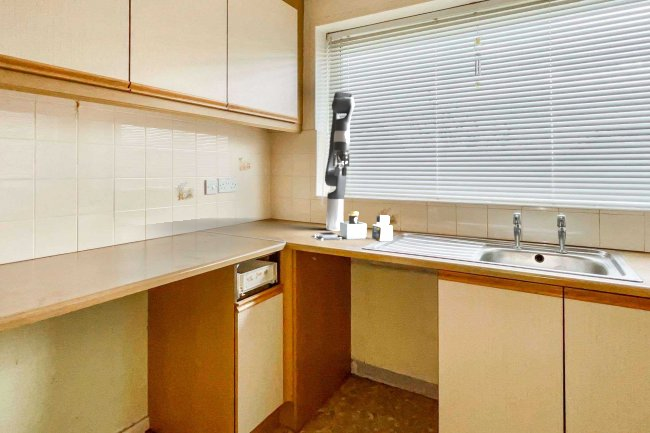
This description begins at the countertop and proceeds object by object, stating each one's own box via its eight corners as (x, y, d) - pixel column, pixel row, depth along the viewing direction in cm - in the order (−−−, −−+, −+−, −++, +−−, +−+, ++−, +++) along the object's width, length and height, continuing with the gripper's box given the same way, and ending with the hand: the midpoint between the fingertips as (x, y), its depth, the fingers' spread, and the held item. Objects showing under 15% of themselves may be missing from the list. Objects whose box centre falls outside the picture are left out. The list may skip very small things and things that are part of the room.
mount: (310, 238, 182) (311, 231, 181) (334, 237, 186) (334, 231, 186) (319, 243, 171) (319, 236, 170) (344, 242, 175) (344, 235, 174)
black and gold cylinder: (346, 238, 181) (347, 212, 179) (348, 237, 185) (349, 211, 184) (356, 239, 180) (357, 212, 178) (357, 237, 184) (359, 211, 183)
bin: (339, 238, 185) (339, 221, 184) (357, 237, 189) (358, 221, 188) (346, 241, 177) (347, 224, 176) (366, 240, 181) (366, 224, 180)
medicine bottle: (371, 239, 186) (372, 214, 185) (383, 238, 189) (384, 214, 188) (380, 241, 180) (381, 216, 178) (392, 240, 183) (393, 216, 182)
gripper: (328, 141, 187) (327, 175, 188) (340, 139, 173) (339, 175, 175) (342, 142, 189) (341, 175, 191) (355, 140, 176) (353, 176, 178)
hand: (340, 175), depth 183 cm, fingers open, 8 cm apart
